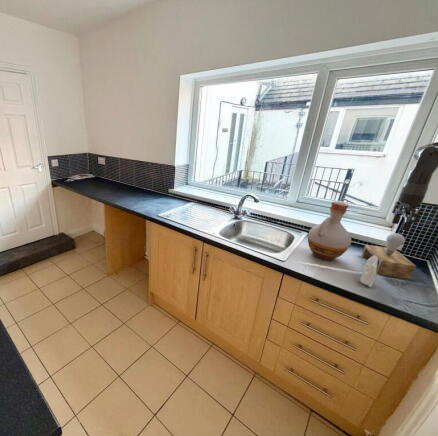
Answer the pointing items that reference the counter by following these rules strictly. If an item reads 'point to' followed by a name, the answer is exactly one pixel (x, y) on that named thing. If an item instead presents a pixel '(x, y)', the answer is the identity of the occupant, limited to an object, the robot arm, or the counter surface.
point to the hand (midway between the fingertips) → (399, 226)
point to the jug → (330, 235)
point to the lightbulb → (394, 242)
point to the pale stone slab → (369, 271)
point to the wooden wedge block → (390, 262)
